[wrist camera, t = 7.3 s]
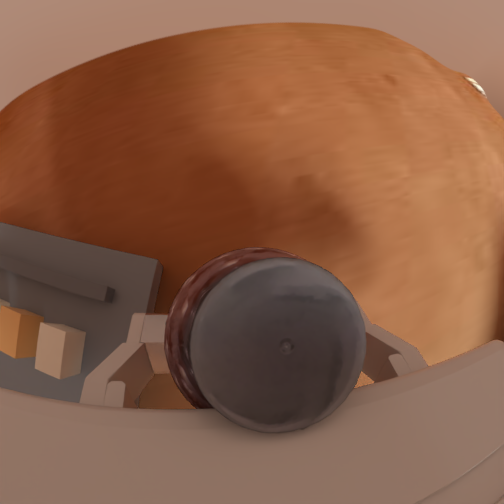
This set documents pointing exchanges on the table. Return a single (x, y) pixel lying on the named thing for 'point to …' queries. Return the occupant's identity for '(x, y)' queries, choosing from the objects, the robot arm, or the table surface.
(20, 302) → the breaker board
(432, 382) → the robot arm
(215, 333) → the supplement bottle
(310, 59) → the table surface
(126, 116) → the table surface
